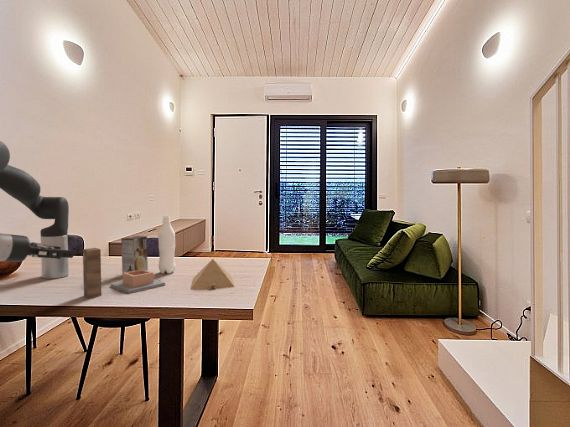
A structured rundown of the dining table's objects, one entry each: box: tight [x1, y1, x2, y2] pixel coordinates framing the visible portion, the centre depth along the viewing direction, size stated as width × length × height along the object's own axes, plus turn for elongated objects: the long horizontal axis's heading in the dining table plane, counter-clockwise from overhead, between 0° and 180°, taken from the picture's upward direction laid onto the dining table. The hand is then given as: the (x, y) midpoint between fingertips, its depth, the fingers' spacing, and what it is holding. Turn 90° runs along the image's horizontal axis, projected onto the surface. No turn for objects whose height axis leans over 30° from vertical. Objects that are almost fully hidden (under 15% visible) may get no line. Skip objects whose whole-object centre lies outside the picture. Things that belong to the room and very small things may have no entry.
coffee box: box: [120, 235, 149, 273], centre depth 143 cm, size 9×6×16 cm
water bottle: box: [157, 215, 177, 275], centre depth 145 cm, size 7×7×25 cm
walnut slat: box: [82, 247, 102, 299], centre depth 111 cm, size 4×4×16 cm
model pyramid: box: [190, 258, 236, 290], centre depth 129 cm, size 17×17×10 cm
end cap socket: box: [110, 269, 166, 294], centre depth 124 cm, size 14×14×5 cm
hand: (66, 252), depth 105 cm, fingers open, 8 cm apart
